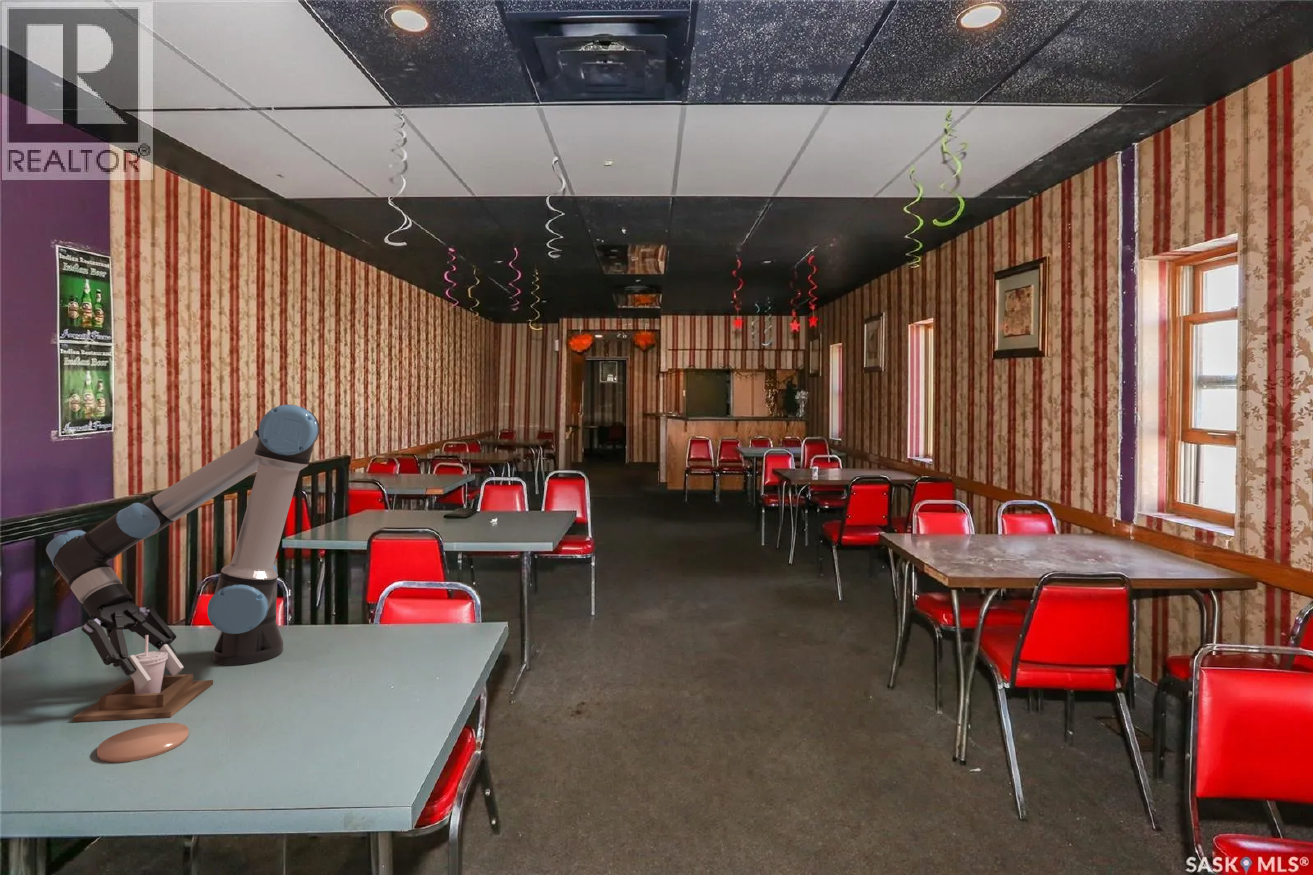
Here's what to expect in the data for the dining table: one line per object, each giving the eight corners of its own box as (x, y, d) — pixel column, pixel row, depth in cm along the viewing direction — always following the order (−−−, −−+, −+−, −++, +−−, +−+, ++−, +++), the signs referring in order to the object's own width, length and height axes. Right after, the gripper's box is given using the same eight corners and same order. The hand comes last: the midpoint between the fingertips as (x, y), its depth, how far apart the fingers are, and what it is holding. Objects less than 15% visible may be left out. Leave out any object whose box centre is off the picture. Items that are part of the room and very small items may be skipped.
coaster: (202, 726, 124) (202, 721, 124) (163, 759, 111) (164, 753, 111) (126, 730, 122) (126, 724, 122) (78, 764, 109) (78, 759, 109)
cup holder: (213, 684, 144) (213, 668, 144) (170, 717, 128) (171, 699, 128) (127, 688, 141) (128, 672, 141) (72, 722, 125) (73, 704, 125)
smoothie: (142, 695, 137) (144, 630, 137) (174, 695, 138) (175, 630, 138) (120, 708, 131) (121, 640, 131) (153, 708, 132) (155, 640, 132)
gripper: (137, 594, 147) (194, 672, 144) (40, 617, 128) (103, 708, 125) (157, 573, 146) (214, 651, 143) (61, 593, 127) (125, 683, 124)
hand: (162, 677), depth 134 cm, fingers closed on smoothie, 6 cm apart
